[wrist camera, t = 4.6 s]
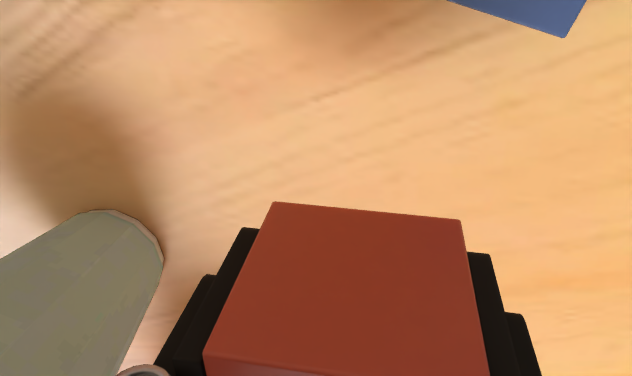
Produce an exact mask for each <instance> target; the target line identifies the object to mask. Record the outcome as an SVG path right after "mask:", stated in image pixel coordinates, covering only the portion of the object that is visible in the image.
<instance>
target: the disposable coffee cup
mask: <svg viewBox="0 0 632 376" xmlns="http://www.w3.org/2000/svg"><path fill="white" fill-rule="evenodd" d="M163 260H164V257H163V254H162V252H161V249H160V246H159V244H158V241H157V238H156V237H155V236H154V235H153V234H152V233H151V232H150V231H149V230H148V229H147V228H146V227H145V226H144V225H143V224H141V223H140V222H139V221H138V220H137V219H135V218H132V217H130V216H127V215H125V214H123V213H120V212H118V211H115V210H93V211H89V212H87V213H79V214H77V215H75V216H74V217H72V218H70V219H69V220H67V221H65V222H63V223H62V224H60V225H58V226H56V227H55V228H53V229H51V230H50V231H48V232H46V233H44V234H43V235H41V236H39V237H37V238H36V239H34V240H32V241H31V242H29V243H27V244H25V245H24V246H22V247H20V248H18V249H17V250H15V251H13V252H12V253H10V254H8V255H6V256H5V257H3V258H1V259H0V376H116V375H117V373H118V370H119V368H120V366H121V364H122V362H123V360H124V358H125V355H126V353H127V351H128V349H129V347H130V345H131V343H132V340H133V338H134V336H135V334H136V332H137V330H138V328H139V325H140V323H141V321H142V319H143V317H144V315H145V313H146V310H147V308H148V306H149V304H150V302H151V300H152V298H153V295H154V293H155V291H156V289H157V287H158V284H159V280H160V277H161V273H162V269H163V265H162V264H163Z"/></svg>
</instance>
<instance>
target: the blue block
mask: <svg viewBox="0 0 632 376" xmlns="http://www.w3.org/2000/svg"><path fill="white" fill-rule="evenodd" d="M447 1H450V2H453V3H456V4H459V5H462V6H466V7H469V8H472V9H475V10H478V11H481V12H484V13H487V14H490V15H493V16H496V17H499V18H502V19H505V20H508V21H511V22H514V23H518V24H521V25H524V26H527V27H530V28H533V29H536V30H539V31H542V32H545V33H548V34H551V35H554V36H557V37H560V38H565V37H566V35H567V34H568V32H569V30H570V28H571V27H572V25H573V23H574V21H575V20H576V18H577V16H578V14H579V13H580V11H581V9H582V7H583V6H584V4H585V2H586V1H587V0H447Z"/></svg>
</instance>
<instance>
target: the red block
mask: <svg viewBox="0 0 632 376" xmlns="http://www.w3.org/2000/svg"><path fill="white" fill-rule="evenodd" d="M202 356H203V361H204V365H205V370H206V375H207V376H490V372H489V367H488V361H487V356H486V351H485V346H484V340H483V335H482V330H481V325H480V319H479V314H478V309H477V304H476V299H475V293H474V288H473V283H472V278H471V272H470V267H469V262H468V257H467V251H466V246H465V241H464V236H463V231H462V225H461V221H460V220H458V219H448V218H437V217H427V216H417V215H407V214H397V213H387V212H377V211H367V210H357V209H347V208H337V207H326V206H316V205H306V204H296V203H286V202H276V201H275V202H273V203H272V205H271V207H270V209H269V211H268V213H267V215H266V217H265V220H264V222H263V224H262V226H261V228H260V230H259V232H258V235H257V237H256V239H255V241H254V243H253V245H252V247H251V249H250V252H249V254H248V256H247V258H246V260H245V262H244V264H243V267H242V269H241V271H240V273H239V275H238V277H237V279H236V281H235V284H234V286H233V288H232V290H231V292H230V294H229V296H228V299H227V301H226V303H225V305H224V307H223V309H222V311H221V313H220V316H219V318H218V320H217V322H216V324H215V326H214V328H213V331H212V333H211V335H210V337H209V339H208V341H207V343H206V345H205V348H204V350H203V352H202Z"/></svg>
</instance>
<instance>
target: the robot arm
mask: <svg viewBox="0 0 632 376" xmlns="http://www.w3.org/2000/svg"><path fill="white" fill-rule="evenodd" d="M259 230H260V229H255V228H246V227H243V228H242V229H241V230H240V232H239V234H238V235H237V237H236V239H235V241H234V243H233V245H232V247H231V249H230V251H229V252H228V254H227V256H226V258H225V260H224V262H223V264H222V266H221V267H220V269H219V271H218V273H217V275H210V274H206V275H205V276H204V277H203V278H202V279H201V281H200V283H199V284H198V286H197V288H196V290H195V291H194V293H193V295H192V297H191V298H190V300H189V302H188V304H187V305H186V307H185V309H184V311H183V312H182V314H181V316H180V318H179V320H178V321H177V323H176V325H175V327H174V328H173V330H172V332H171V334H170V335H169V337H168V339H167V341H166V342H165V344H164V346H163V348H162V350H161V351H160V353H159V355H158V357H157V358H156V360H155V362H154V364H153V365H148V364H143V365H138V366H133V367H131V368H128V369H126V370H124V371H122V372H120V373H119V374H117V375H116V376H207V375H206V370H205V365H204V361H203V356H202V352H203V350H204V348H205V345H206V343H207V341H208V339H209V337H210V335H211V333H212V331H213V328H214V326H215V324H216V322H217V320H218V318H219V316H220V313H221V311H222V309H223V307H224V305H225V303H226V301H227V299H228V296H229V294H230V292H231V290H232V288H233V286H234V284H235V281H236V279H237V277H238V275H239V273H240V271H241V269H242V267H243V264H244V262H245V260H246V258H247V256H248V254H249V252H250V249H251V247H252V245H253V243H254V241H255V239H256V237H257V235H258V232H259ZM467 257H468V262H469V267H470V272H471V278H472V283H473V288H474V293H475V299H476V304H477V309H478V314H479V319H480V325H481V330H482V335H483V340H484V346H485V351H486V356H487V361H488V367H489V372H490V376H542V375H541V371H540V368H539V365H538V362H537V358H536V355H535V352H534V348H533V345H532V342H531V338H530V335H529V332H528V329H527V325H526V322H525V320H524V318H523V316H522V315H521V314H516V313H509V312H505V311H504V307H503V304H502V300H501V296H500V292H499V288H498V284H497V280H496V276H495V273H494V269H493V265H492V261H491V257H490V255H489V254H484V253H475V252H467Z"/></svg>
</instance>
